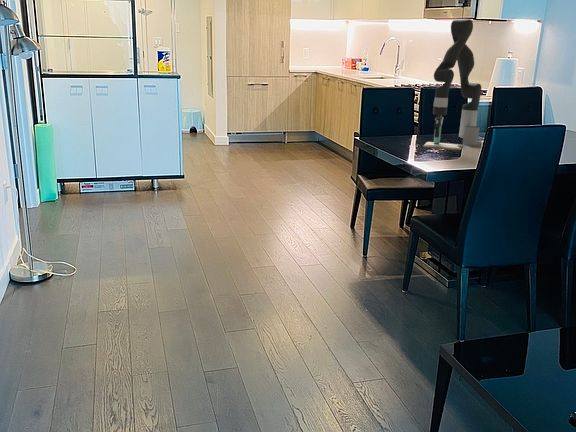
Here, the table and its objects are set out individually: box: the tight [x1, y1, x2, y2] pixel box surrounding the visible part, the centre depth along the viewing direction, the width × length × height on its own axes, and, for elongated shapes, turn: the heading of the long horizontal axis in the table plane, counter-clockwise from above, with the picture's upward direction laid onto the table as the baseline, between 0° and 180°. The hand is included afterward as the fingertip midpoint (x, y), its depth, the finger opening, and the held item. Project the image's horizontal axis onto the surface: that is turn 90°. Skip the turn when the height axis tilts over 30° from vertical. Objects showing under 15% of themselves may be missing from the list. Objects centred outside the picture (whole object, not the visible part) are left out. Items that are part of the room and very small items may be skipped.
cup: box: [462, 125, 480, 146], centre depth 326 cm, size 8×8×10 cm
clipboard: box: [422, 141, 464, 151], centre depth 316 cm, size 14×20×2 cm
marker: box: [433, 122, 443, 144], centre depth 317 cm, size 4×4×12 cm
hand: (437, 136), depth 318 cm, fingers closed on marker, 3 cm apart
